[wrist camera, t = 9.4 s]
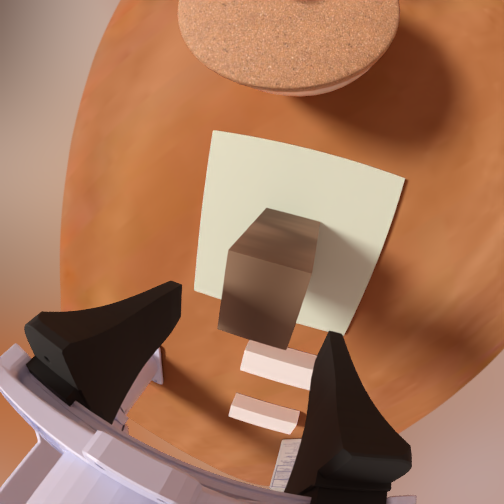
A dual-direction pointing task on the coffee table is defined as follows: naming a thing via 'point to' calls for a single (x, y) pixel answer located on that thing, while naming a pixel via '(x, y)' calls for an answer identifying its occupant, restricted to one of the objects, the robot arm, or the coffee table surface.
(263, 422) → the slot blocks
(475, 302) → the coffee table surface
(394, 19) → the lidded jar
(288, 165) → the mat
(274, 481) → the medicine box
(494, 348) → the coffee table surface
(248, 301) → the walnut block
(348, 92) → the coffee table surface
